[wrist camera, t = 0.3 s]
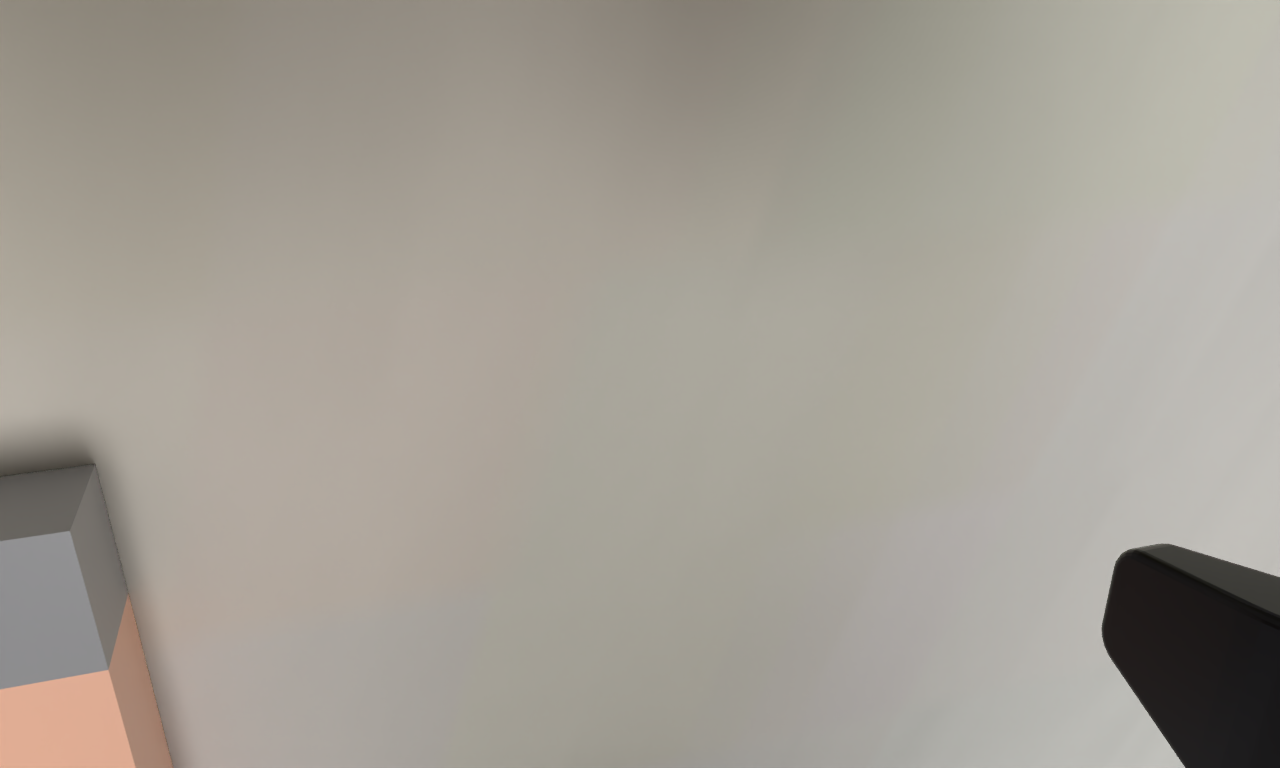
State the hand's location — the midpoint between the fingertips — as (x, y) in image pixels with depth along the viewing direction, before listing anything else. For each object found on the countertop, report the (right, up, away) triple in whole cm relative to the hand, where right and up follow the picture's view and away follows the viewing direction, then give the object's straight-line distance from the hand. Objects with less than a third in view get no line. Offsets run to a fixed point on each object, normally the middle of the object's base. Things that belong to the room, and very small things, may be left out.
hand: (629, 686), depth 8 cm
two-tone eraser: (-12, -4, +14) cm, 19 cm away
